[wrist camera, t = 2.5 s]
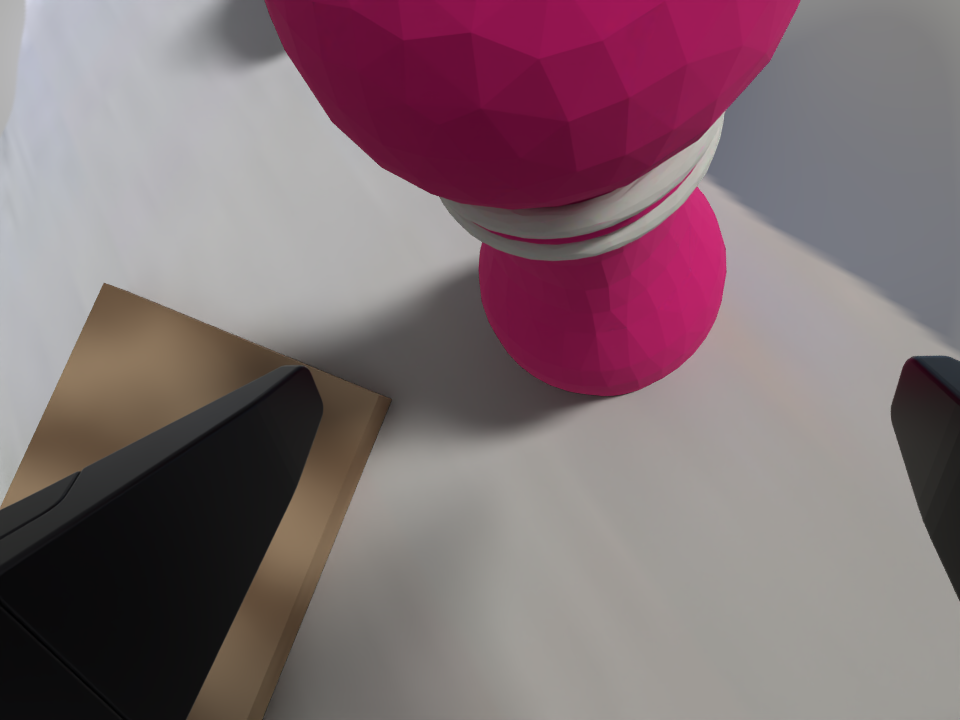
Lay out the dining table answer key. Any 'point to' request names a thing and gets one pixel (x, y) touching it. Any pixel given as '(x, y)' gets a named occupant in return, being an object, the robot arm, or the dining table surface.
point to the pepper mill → (555, 155)
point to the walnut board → (172, 395)
